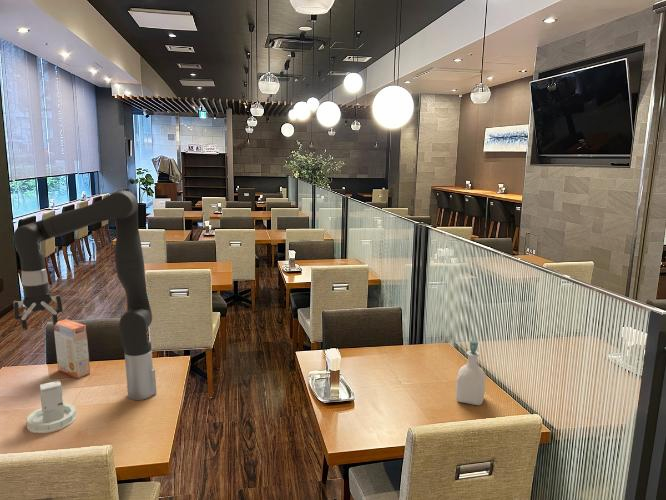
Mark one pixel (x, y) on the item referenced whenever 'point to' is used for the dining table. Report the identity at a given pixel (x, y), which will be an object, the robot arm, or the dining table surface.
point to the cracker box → (72, 348)
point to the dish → (38, 426)
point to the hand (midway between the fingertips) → (40, 326)
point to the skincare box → (51, 401)
